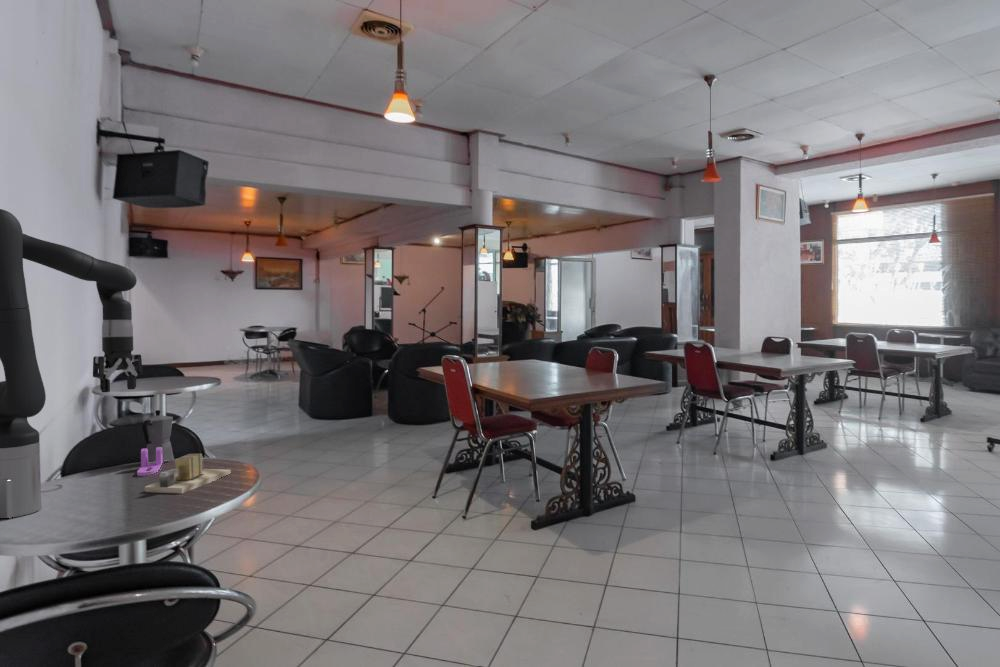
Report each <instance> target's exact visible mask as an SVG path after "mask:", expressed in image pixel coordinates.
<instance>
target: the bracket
mask: <svg viewBox="0 0 1000 667" xmlns="http://www.w3.org/2000/svg"><path fill="white" fill-rule="evenodd" d="M162 463H163V452H162V447H157V448H156V463H153V464H148V449H147V448H141V450H140V468H139V469H138V470H137V471H136V475H140V476H144V477H146V476H145V475H150V474H154V473H156V472H158V470H159V469H160V467H161V465H162ZM163 464H164V463H163ZM147 469H151V470H150V471H146V470H147ZM160 470H161V469H160ZM158 473H159V472H158Z"/></svg>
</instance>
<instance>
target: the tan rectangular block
mask: <svg viewBox="0 0 1000 667" xmlns="http://www.w3.org/2000/svg"><path fill="white" fill-rule="evenodd" d="M202 457H203V453H188V454H185V455H183V456H180V457H177V458H176V459H175V458H174V460H175V461H174V462H175V464H174V465H175V469H178V476H177V477H176V480H190V479H193V478H194V477H196V476H198V475H201V474H202Z"/></svg>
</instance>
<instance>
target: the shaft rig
mask: <svg viewBox="0 0 1000 667" xmlns="http://www.w3.org/2000/svg"><path fill="white" fill-rule="evenodd" d="M204 464H205V461H204V456H202V474H201V475H198V476H196V477H194V478H193V479H190V480H176V477H177V476H178V469H176V468H171V469H168V470H164V471H162V472H161V471H160V472H159V481H157V482H154V483H152V484H148V485H146V486H144V492H145V493H157V494H159V493H160V494H161V493H162V494H163V493H164V494H185V493H186V492H190V491H192V490H194V489H197V488H199V487H202V486H205V485H207V484H211V483H213V482H215V481H217V479H218V480H220V479H222V478H221V477H223V476H226V475H228V474H230V473H232V472H231V471H232V470H231V469H220V468H219V469H218V468H205V465H204ZM228 476H229V475H228ZM226 477H227V476H226ZM219 478H220V479H219ZM223 478H224V477H223ZM212 481H213V482H212Z"/></svg>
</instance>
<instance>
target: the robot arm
mask: <svg viewBox="0 0 1000 667" xmlns="http://www.w3.org/2000/svg"><path fill="white" fill-rule="evenodd" d="M23 260H26V261H30V262H34V263H37V264H39V265H42V266H43V267H44V266H45V267H48V268H51V269H53V270H55V271H59V272H61V273H64V274H65V275H66V274H67V275H69V276H71V277H73V278H76V279H79V280H83V281H87V282H95V284H96V289H97V293H98V296H99V300H100V303H101V305H102V325H101V341H102V342H101V343H102V344H101V348H102V349H101V351H102V352H103V353H104V355H103V356H102V355H99V356H98V355H97V356H93V358H92V378H96V379H99V383H100V384H99V387H100V391H101V392H102V393H110V392H111V384H110V383H111V380H110V378H111V376H112V374H114V373H115V372H116V371H122V372H124V373H125V374H126V376H127V377H126V381H127V382H126V384H127V386H126V388H127V389H128V390H135V389H136V387H137V377H138V375H141V374H143V360H142V354H132V352H133V351H134V326H133V320H132V317H133V316H132V314H133V313H132V310H133V309H132V304H131V302H129V301H128V300H125V299H124V296H123V292H127V291H131V290H132V289H133V288H134V287H136V285H137V281H138V280H137V276H136V274H135V273H134V272H133V271H132V270H131V269H129V268H128V267H126V266H123V265H120V264H117V263H114V262H111V261H106V260H103V259H99V258H96V257H93V256H92V255H89V254H87V253H85V252H82V251H81V250H77V249H75V248H72V247H70V246H66V245H62V244H58V243H54V242H51V241H48V240H47V241H46V240H43V239H39V238H36V237H34V236H31V235H28V234H26V233H23V229H22V225H21V223H20V220H18V219H17V217H16V216H15V215H14V214H12V213H11V212H10V211H7V210H6V209H1V208H0V361H1V364H2V367H3V372H4V377H5V378H4V380H3V381H0V518H9V519H12V517H13V518H16V517H23V516H27V515H31V514H33V513H36V512H38V511H40V510H42V485H41V484H42V482H41V454H40V453H41V447H40V444H41V443H40V441H41V439H40V433H39V431H38V430H37V429H36V428H35V427H33V426H31V425H30V422H28V418H32V417H34V416H36V415H38V414H39V413H40V412H41V411H42V410H43V408H44V407H45V404H46V401H47V400H46V397H47V395H46V390H45V385H44V383H43V382H44V381H43V378H42V375H41V371H40V367H39V363H38V358H37V354H36V347H35V342H34V335H33V328H32V319H31V311H30V305H29V300H28V293H27V285H26V279H25V271H24V261H23Z"/></svg>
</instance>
